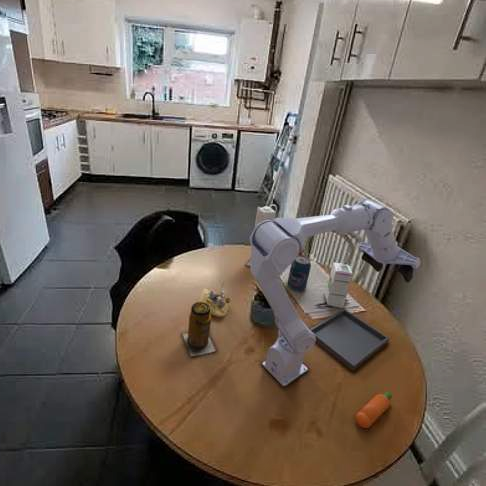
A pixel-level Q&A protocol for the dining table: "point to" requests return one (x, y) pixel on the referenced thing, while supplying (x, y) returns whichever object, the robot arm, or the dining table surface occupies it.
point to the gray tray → (348, 338)
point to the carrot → (373, 409)
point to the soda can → (299, 273)
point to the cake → (216, 301)
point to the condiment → (199, 330)
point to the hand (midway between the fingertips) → (394, 274)
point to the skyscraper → (264, 217)
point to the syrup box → (338, 285)
